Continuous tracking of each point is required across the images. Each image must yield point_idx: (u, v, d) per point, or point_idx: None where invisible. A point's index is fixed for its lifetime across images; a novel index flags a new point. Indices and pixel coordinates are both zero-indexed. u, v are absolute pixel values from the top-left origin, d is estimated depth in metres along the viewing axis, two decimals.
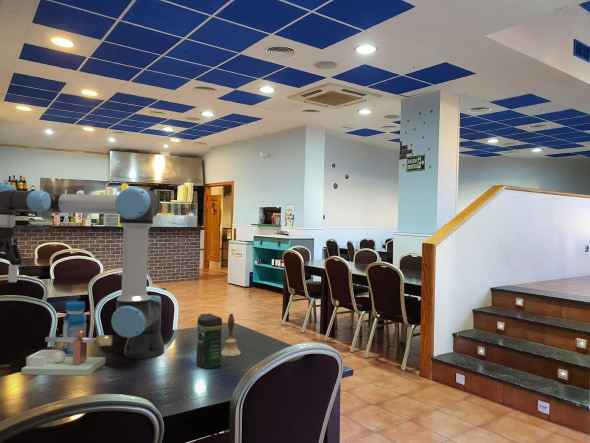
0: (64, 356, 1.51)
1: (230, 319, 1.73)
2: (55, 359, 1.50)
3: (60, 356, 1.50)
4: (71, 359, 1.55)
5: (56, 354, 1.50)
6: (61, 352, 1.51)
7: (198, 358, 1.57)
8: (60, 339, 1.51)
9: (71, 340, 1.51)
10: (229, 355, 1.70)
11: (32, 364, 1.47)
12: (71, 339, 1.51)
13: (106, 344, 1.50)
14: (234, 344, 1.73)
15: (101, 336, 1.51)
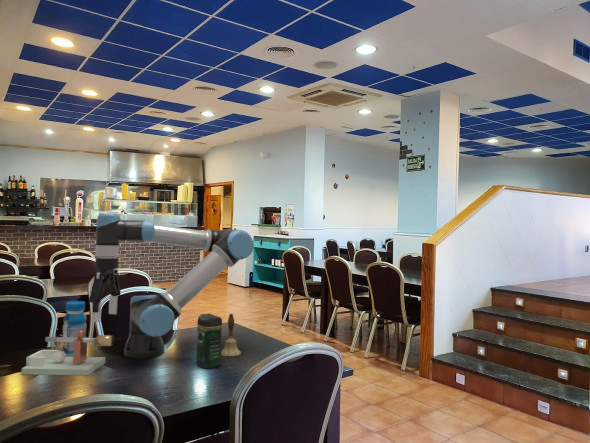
0: (64, 356, 1.51)
1: (230, 319, 1.73)
2: (55, 359, 1.50)
3: (60, 356, 1.50)
4: (71, 359, 1.55)
5: (56, 354, 1.50)
6: (61, 352, 1.51)
7: (198, 358, 1.57)
8: (60, 339, 1.51)
9: (71, 340, 1.51)
10: (229, 355, 1.70)
11: (32, 364, 1.47)
12: (71, 339, 1.51)
13: (106, 344, 1.50)
14: (234, 344, 1.73)
15: (101, 336, 1.51)
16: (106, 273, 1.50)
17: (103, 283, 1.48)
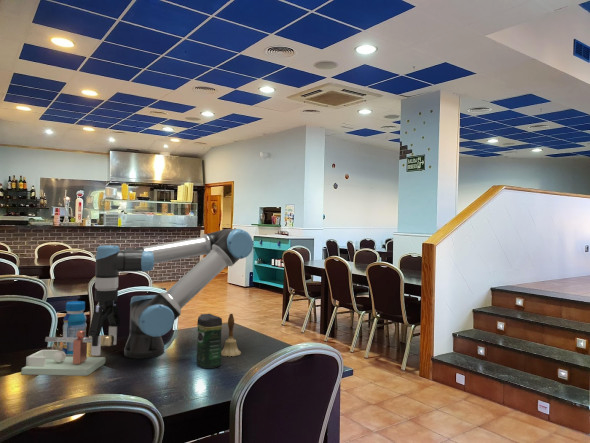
0: (64, 356, 1.51)
1: (230, 319, 1.73)
2: (55, 359, 1.50)
3: (60, 356, 1.50)
4: (71, 359, 1.55)
5: (56, 354, 1.50)
6: (61, 352, 1.51)
7: (198, 358, 1.57)
8: (60, 339, 1.51)
9: (71, 340, 1.51)
10: (229, 355, 1.70)
11: (32, 364, 1.47)
12: (71, 339, 1.51)
13: (106, 344, 1.50)
14: (234, 344, 1.73)
15: (101, 336, 1.51)
16: (105, 305, 1.49)
17: (102, 316, 1.48)
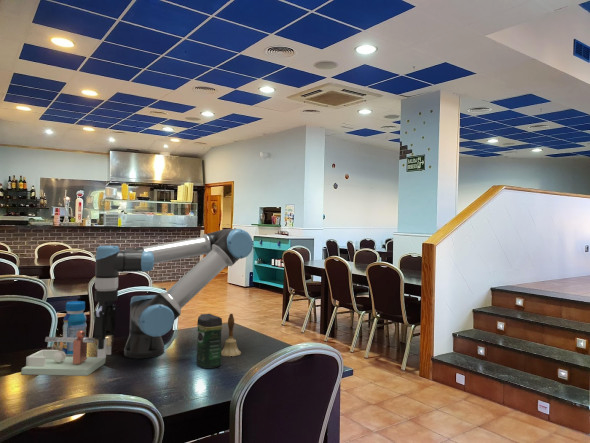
0: (64, 356, 1.51)
1: (230, 319, 1.73)
2: (55, 359, 1.50)
3: (60, 356, 1.50)
4: (71, 359, 1.55)
5: (56, 354, 1.50)
6: (61, 352, 1.51)
7: (198, 358, 1.57)
8: (60, 339, 1.51)
9: (71, 340, 1.51)
10: (229, 355, 1.70)
11: (32, 364, 1.47)
12: (71, 339, 1.51)
13: (106, 344, 1.50)
14: (234, 344, 1.73)
15: None
16: (105, 305, 1.49)
17: (104, 318, 1.49)
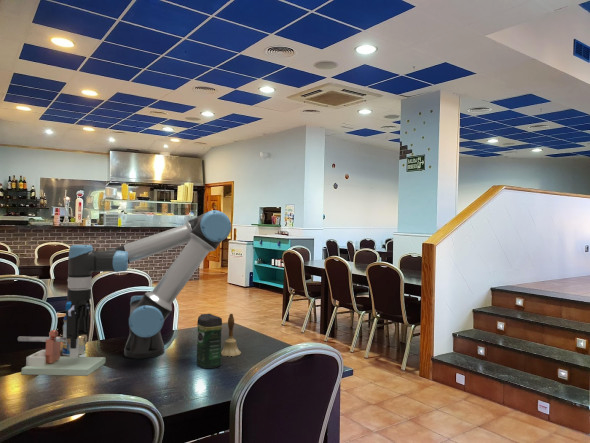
0: None
1: (230, 319, 1.73)
2: None
3: None
4: (71, 359, 1.55)
5: None
6: None
7: (198, 358, 1.57)
8: (33, 338, 1.51)
9: (44, 340, 1.51)
10: (229, 355, 1.70)
11: (32, 364, 1.47)
12: (44, 338, 1.51)
13: (79, 343, 1.50)
14: (234, 344, 1.73)
15: None
16: (78, 305, 1.49)
17: (77, 317, 1.49)
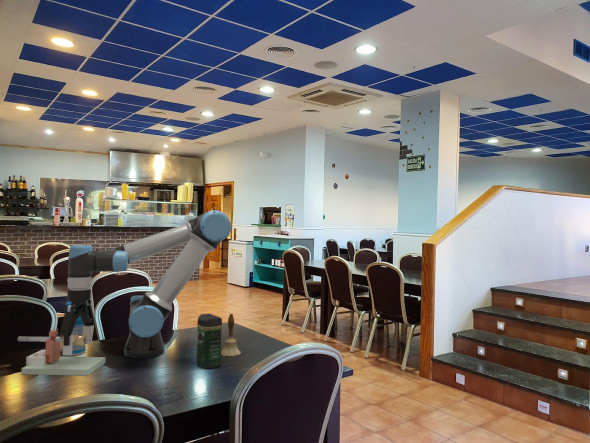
0: None
1: (230, 319, 1.73)
2: None
3: None
4: (71, 359, 1.55)
5: None
6: None
7: (198, 358, 1.57)
8: (33, 338, 1.51)
9: (43, 340, 1.51)
10: (229, 355, 1.70)
11: (32, 364, 1.47)
12: (44, 338, 1.51)
13: (79, 343, 1.50)
14: (234, 344, 1.73)
15: (74, 335, 1.51)
16: (78, 305, 1.49)
17: (75, 315, 1.48)
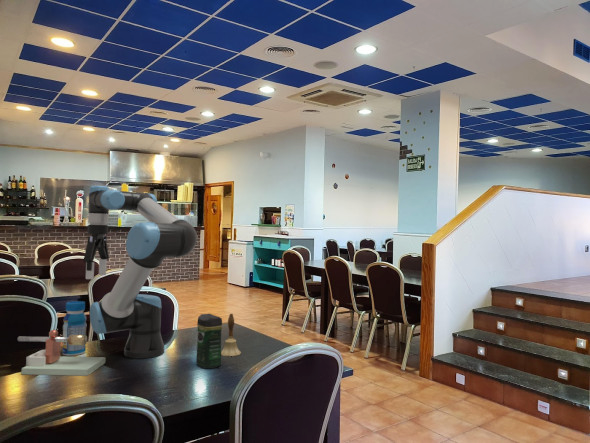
0: None
1: (230, 319, 1.73)
2: None
3: None
4: (71, 359, 1.55)
5: None
6: None
7: (198, 358, 1.57)
8: (33, 338, 1.51)
9: (43, 340, 1.51)
10: (229, 355, 1.70)
11: (32, 364, 1.47)
12: (44, 338, 1.51)
13: (79, 343, 1.50)
14: (234, 344, 1.73)
15: (74, 335, 1.51)
16: (97, 237, 1.71)
17: (95, 246, 1.70)
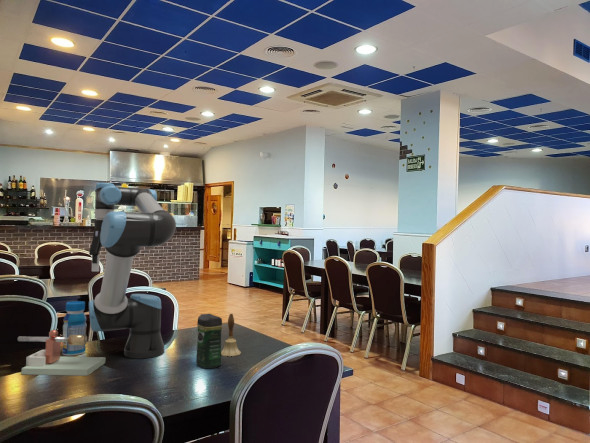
0: None
1: (230, 319, 1.73)
2: None
3: None
4: (71, 359, 1.55)
5: None
6: None
7: (198, 358, 1.57)
8: (33, 338, 1.51)
9: (43, 340, 1.51)
10: (229, 355, 1.70)
11: (32, 364, 1.47)
12: (44, 338, 1.51)
13: (79, 343, 1.50)
14: (234, 344, 1.73)
15: (74, 335, 1.51)
16: None
17: None
